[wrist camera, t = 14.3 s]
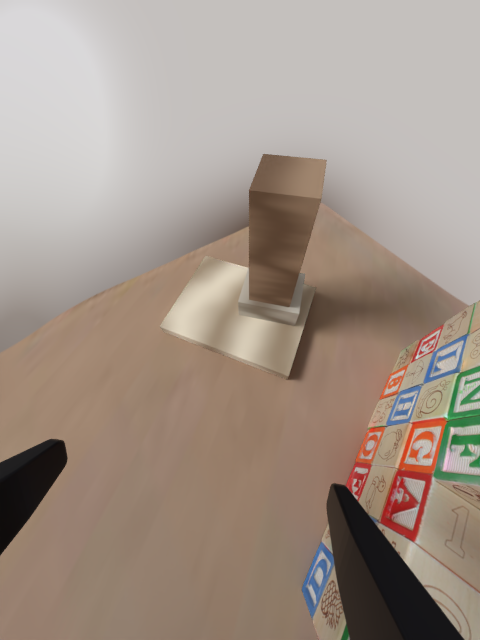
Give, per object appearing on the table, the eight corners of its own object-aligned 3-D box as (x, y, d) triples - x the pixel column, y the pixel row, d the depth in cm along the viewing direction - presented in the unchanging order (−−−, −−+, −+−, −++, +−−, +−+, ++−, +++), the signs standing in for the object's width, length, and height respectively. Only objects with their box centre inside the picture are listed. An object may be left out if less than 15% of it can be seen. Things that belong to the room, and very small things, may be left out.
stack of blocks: (391, 679, 14) (937, 1566, 3) (298, 588, 16) (411, 909, 5) (467, 384, 22) (683, 323, 11) (399, 349, 24) (526, 267, 13)
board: (313, 293, 27) (316, 287, 26) (286, 379, 22) (288, 376, 21) (207, 262, 30) (205, 255, 29) (163, 331, 25) (159, 326, 24)
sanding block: (300, 288, 26) (343, 157, 14) (294, 326, 24) (340, 207, 12) (249, 279, 27) (249, 148, 15) (238, 314, 25) (229, 193, 13)
